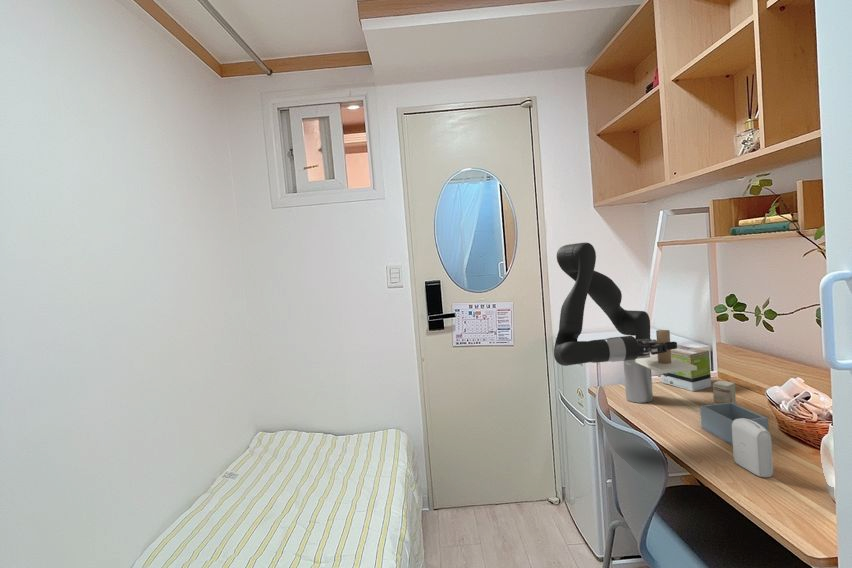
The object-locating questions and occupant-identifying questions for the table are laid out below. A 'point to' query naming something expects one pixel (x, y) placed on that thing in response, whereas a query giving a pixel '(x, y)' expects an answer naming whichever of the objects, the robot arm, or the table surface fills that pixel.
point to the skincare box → (724, 392)
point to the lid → (665, 358)
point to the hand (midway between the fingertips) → (672, 343)
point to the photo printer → (752, 447)
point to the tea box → (690, 378)
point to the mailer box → (726, 419)
